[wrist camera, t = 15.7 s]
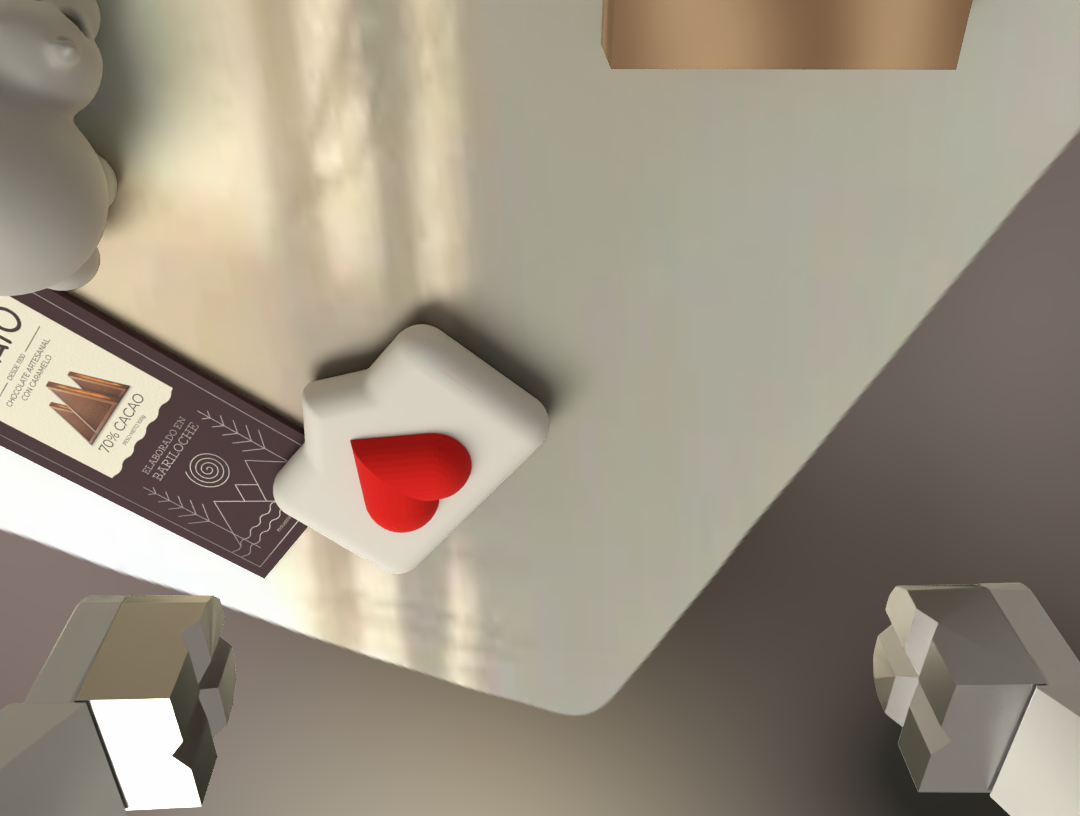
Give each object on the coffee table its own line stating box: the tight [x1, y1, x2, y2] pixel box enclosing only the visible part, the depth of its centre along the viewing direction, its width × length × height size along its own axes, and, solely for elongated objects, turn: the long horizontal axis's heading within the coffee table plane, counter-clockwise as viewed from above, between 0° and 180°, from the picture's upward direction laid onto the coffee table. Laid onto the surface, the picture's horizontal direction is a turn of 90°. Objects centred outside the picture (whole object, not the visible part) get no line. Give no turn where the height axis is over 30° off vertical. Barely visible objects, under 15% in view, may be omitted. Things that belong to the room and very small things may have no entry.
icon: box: [273, 324, 549, 574], centre depth 43 cm, size 12×4×10 cm
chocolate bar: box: [0, 288, 308, 578], centre depth 44 cm, size 9×1×18 cm
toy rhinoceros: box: [0, 0, 118, 296], centre depth 33 cm, size 7×12×8 cm, turn 154°
